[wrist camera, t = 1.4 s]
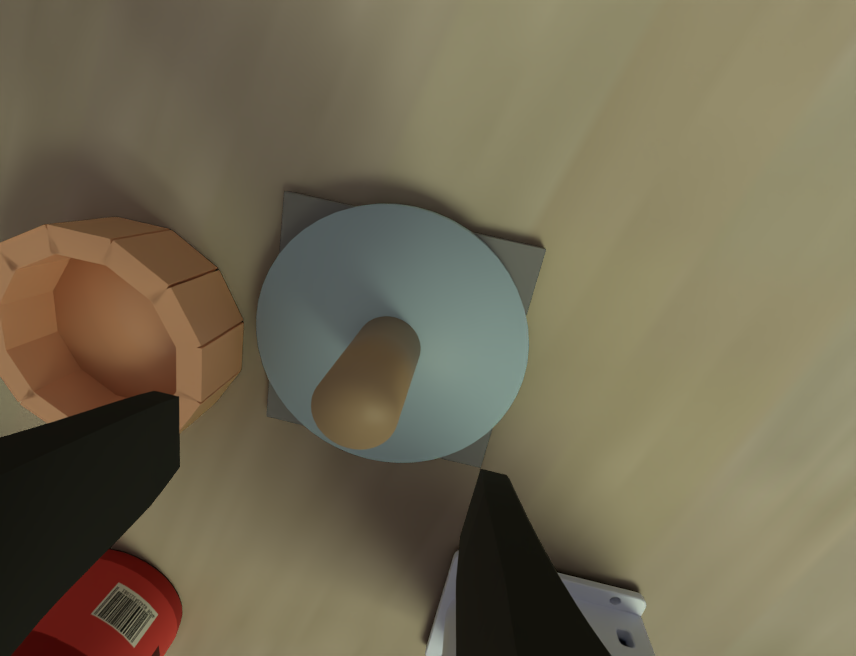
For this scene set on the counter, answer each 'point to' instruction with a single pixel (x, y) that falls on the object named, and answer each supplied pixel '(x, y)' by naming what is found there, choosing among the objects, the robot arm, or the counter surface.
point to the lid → (392, 333)
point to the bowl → (113, 319)
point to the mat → (513, 255)
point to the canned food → (110, 613)
